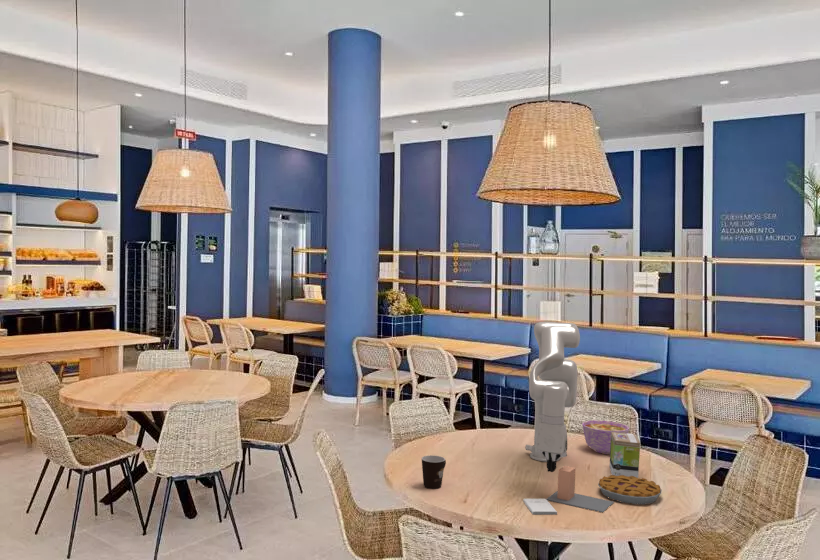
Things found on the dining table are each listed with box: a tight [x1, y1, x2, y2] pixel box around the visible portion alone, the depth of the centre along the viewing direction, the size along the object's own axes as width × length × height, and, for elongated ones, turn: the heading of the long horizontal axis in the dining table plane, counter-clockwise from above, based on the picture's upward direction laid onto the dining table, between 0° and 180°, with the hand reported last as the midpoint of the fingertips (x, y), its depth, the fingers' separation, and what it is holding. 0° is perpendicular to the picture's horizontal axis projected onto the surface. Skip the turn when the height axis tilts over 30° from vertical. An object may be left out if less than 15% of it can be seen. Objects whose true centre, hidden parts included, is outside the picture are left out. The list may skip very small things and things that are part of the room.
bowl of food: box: [581, 419, 630, 455], centre depth 304 cm, size 20×20×12 cm
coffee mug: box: [421, 454, 447, 490], centre depth 250 cm, size 12×9×10 cm
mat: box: [545, 490, 615, 513], centre depth 238 cm, size 20×12×1 cm, turn 57°
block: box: [557, 465, 576, 501], centre depth 241 cm, size 4×6×10 cm, turn 147°
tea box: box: [608, 432, 641, 478], centre depth 272 cm, size 15×10×15 cm, turn 168°
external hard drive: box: [522, 498, 558, 516], centre depth 231 cm, size 2×8×12 cm
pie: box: [597, 474, 662, 505], centre depth 247 cm, size 22×22×5 cm
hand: (551, 470), depth 244 cm, fingers closed
